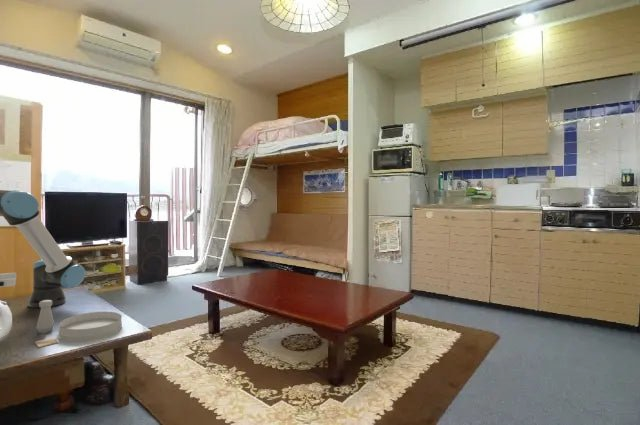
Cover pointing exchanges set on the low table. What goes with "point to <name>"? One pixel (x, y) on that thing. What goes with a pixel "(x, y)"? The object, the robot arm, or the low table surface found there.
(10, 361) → the low table surface
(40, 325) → the salt shaker
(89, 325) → the dish
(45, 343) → the cork coaster
